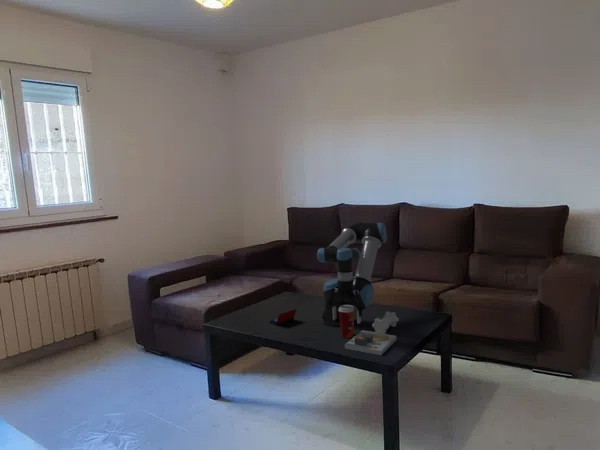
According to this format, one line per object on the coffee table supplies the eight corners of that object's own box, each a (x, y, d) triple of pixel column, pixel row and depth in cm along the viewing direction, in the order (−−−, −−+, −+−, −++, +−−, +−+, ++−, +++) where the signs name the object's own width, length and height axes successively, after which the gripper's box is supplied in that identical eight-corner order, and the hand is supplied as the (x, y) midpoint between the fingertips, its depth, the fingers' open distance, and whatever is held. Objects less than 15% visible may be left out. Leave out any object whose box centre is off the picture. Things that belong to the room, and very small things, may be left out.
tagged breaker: (354, 344, 212) (354, 337, 212) (357, 342, 215) (357, 335, 214) (364, 346, 210) (364, 339, 209) (367, 344, 212) (367, 337, 212)
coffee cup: (354, 339, 225) (353, 309, 223) (338, 338, 227) (337, 309, 225) (356, 332, 233) (355, 304, 231) (340, 332, 235) (339, 304, 233)
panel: (344, 348, 214) (344, 338, 213) (362, 334, 231) (362, 324, 230) (381, 355, 205) (380, 344, 204) (396, 339, 221) (396, 330, 221)
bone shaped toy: (385, 325, 244) (383, 310, 243) (400, 326, 239) (398, 311, 238) (372, 334, 232) (370, 318, 232) (387, 335, 227) (385, 319, 226)
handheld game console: (285, 317, 263) (285, 304, 262) (297, 321, 255) (297, 308, 254) (268, 322, 255) (267, 310, 254) (280, 327, 247) (279, 314, 246)
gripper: (319, 279, 229) (321, 319, 232) (365, 283, 216) (366, 326, 219) (326, 275, 236) (328, 315, 238) (371, 280, 223) (372, 322, 225)
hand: (346, 320), depth 229 cm, fingers open, 13 cm apart
